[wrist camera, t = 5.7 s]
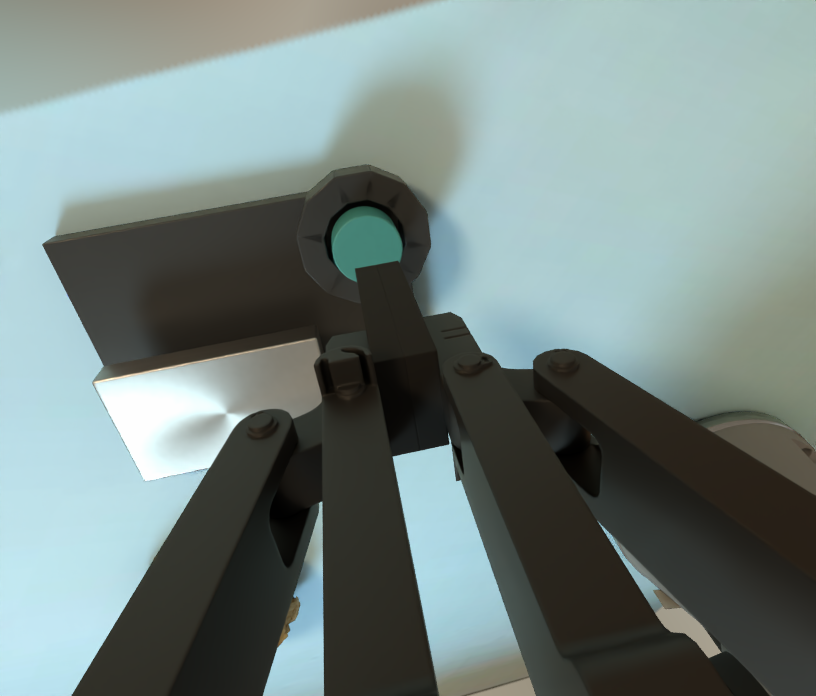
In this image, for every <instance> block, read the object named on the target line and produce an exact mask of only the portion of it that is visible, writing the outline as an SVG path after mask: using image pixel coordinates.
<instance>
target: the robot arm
mask: <svg viewBox="0 0 816 696" xmlns="http://www.w3.org/2000/svg"><path fill="white" fill-rule="evenodd" d="M355 273H356V279H357V284H358V290H359V295H360V301H361V306H362V312H363V317H364V323H365V328H366V330H362V331H357V332H352V333H347V334H342V335H337V336H332V338H331V339H330V340H329V342H328V343H327V345H326V352H325V353H323V354H322V355H321V356H319V357H318V358H317V359H316V361H315V363H314V369H315V373H316V377H317V381H318V384H319V388H320V392H321V396H322V402H321V403H320V404H319V405H318V406H317V407H316V408H314V409H313V410H311V411H309V412H307V413H305V414H303V415H301V416H299V417H296V418H294V419H292V417H291V415H290V414H289V412H287V411H284V410H282V409H267V410H261V411H257V412H256V413H252V414H250V415H249V416H247V417H246V418H244V419H243V420H241V421H240V422H239V423H238V424H237V425H236V426H235V427H234V428H233V430H232V432H231V433H230V435H229V437H228V438H227V440H226V442H225V443H224V445H223V447H222V448H221V450H220V452H219V453H218V455H217V456H216V458H215V460H214V461H213V463H212V465H211V466H210V468H209V470H208V471H207V473H206V475H205V476H204V478H203V480H202V481H201V483H200V485H199V486H198V488H197V489H196V491H195V493H194V494H193V496H192V498H191V499H190V501H189V503H188V504H187V506H186V508H185V509H184V511H183V513H182V514H181V516H180V518H179V519H178V521H177V522H176V524H175V526H174V527H173V529H172V531H171V532H170V534H169V536H168V537H167V539H166V541H165V542H164V544H163V546H162V547H161V549H160V551H159V552H158V554H157V555H156V557H155V559H154V560H153V562H152V564H151V565H150V567H149V569H148V570H147V572H146V574H145V575H144V577H143V579H142V580H141V582H140V584H139V585H138V587H137V588H136V590H135V592H134V593H133V595H132V597H131V598H130V600H129V602H128V603H127V605H126V607H125V608H124V610H123V612H122V613H121V615H120V617H119V618H118V620H117V621H116V623H115V625H114V626H113V628H112V630H111V631H110V633H109V635H108V636H107V638H106V640H105V641H104V643H103V645H102V646H101V648H100V649H99V651H98V653H97V654H96V656H95V658H94V659H93V661H92V663H91V664H90V666H89V668H88V669H87V671H86V673H85V674H84V676H83V678H82V679H81V681H80V682H79V684H78V686H77V687H76V689H75V691H74V692H73V694H72V696H263V692H264V689H265V686H266V683H267V679H268V676H269V673H270V670H271V666H272V663H273V660H274V656H275V653H276V650H277V647H278V643H279V640H280V637H281V634H282V630H283V627H284V624H285V621H286V617H287V614H288V611H289V607H290V604H291V601H292V598H293V594H294V591H295V588H296V585H297V581H298V578H299V575H300V572H301V568H302V565H303V562H304V558H305V555H306V552H307V549H308V545H309V542H310V539H311V536H312V532H313V529H314V526H315V523H316V519H317V516H318V513H319V503H320V502H322V501H323V618H324V696H439V692H438V687H437V682H436V677H435V671H434V666H433V661H432V656H431V651H430V646H429V641H428V636H427V631H426V625H425V620H424V615H423V610H422V605H421V600H420V595H419V590H418V585H417V579H416V574H415V569H414V564H413V559H412V554H411V549H410V544H409V539H408V533H407V528H406V523H405V518H404V513H403V508H402V503H401V498H400V493H399V487H398V482H397V477H396V472H395V467H394V462H393V457H392V456H397V455H401V454H406V453H411V452H416V451H420V450H425V449H430V448H435V447H439V446H444V445H449V438H448V433H449V436H450V439H451V444H452V452H453V460H454V468H455V475H456V481H459V480H461V481H462V484H463V487H464V490H465V493H466V496H467V499H468V501H469V504H470V507H471V510H472V513H473V516H474V519H475V522H476V524H477V527H478V530H479V533H480V536H481V539H482V542H483V545H484V547H485V550H486V553H487V556H488V559H489V562H490V565H491V568H492V570H493V573H494V576H495V579H496V582H497V585H498V588H499V591H500V593H501V596H502V599H503V602H504V605H505V608H506V611H507V614H508V616H509V619H510V622H511V625H512V628H513V631H514V634H515V637H516V639H517V642H518V645H519V648H520V651H521V654H522V657H523V660H524V662H525V665H526V668H527V671H528V674H529V677H530V680H531V682H532V685H533V688H534V691H535V694H536V696H816V451H815V450H814V449H813V447H812V446H811V445H810V444H809V443H808V442H807V441H806V440H805V439H804V438H803V437H802V436H801V435H800V434H798V433H797V432H796V431H794V430H793V429H792V428H790V427H789V426H788V425H786V424H785V423H784V422H782V421H781V420H779V419H777V418H775V417H773V416H770V415H767V414H763V413H758V412H731V413H725V414H720V415H716V416H712V417H709V418H706V419H703V420H700V421H697V422H695V421H694V420H692V419H690V418H689V417H687V416H685V415H684V414H682V413H681V412H679V411H677V410H676V409H674V408H672V407H671V406H669V405H668V404H666V403H664V402H663V401H661V400H659V399H658V398H656V397H655V396H653V395H651V394H650V393H648V392H646V391H645V390H643V389H642V388H640V387H638V386H637V385H635V384H633V383H632V382H630V381H629V380H627V379H625V378H624V377H622V376H620V375H619V374H617V373H616V372H614V371H612V370H611V369H609V368H607V367H606V366H604V365H603V364H601V363H599V362H598V361H596V360H594V359H593V358H591V357H590V356H588V355H586V354H584V353H581V352H579V351H575V350H569V349H554V350H550V351H546V352H544V353H542V354H540V355H538V356H537V357H536V358H535V359H534V361H533V369H507V368H501V366H500V365H499V363H498V361H497V360H496V359H495V358H494V357H493V356H491V355H488V354H486V353H482V351H481V350H480V348H479V346H478V345H477V343H476V341H475V340H474V338H473V336H472V335H471V334H470V331H469V330H468V328H467V327H466V324H465V323H464V321H463V319H462V318H461V317H459V316H457V315H455V314H453V313H451V312H448V313H443V314H438V315H433V316H428V317H423V316H422V314H421V312H420V309H419V307H418V305H417V303H416V300H415V298H414V296H413V293H412V291H411V289H410V286H409V284H408V282H407V279H406V277H405V275H404V273H403V270H402V268H401V266H400V263H399V261H393V262H388V263H382V264H377V265H371V266H366V267H361V268H355ZM591 434H592V435H593V436H592V435H591ZM598 522H599V523H600V524H601V525H602V526H603V527H604V528H605V529H606V530H607V531H608V532H609V533H610V534H611V535H612V536H613V538H614V540H615V542H616V543H617V545H618V546H619V548H620V550H621V551H622V553H623V554H624V556H625V557H626V559H627V560H628V561H629V562H630V563H631V564H632V565H633V566H634V568H635V569H636V570H637V571H638V572H640V573H641V574H642V575H643V576H645V577H646V578H647V579H649V580H650V581H651V582H652V583H653V584H654V585H655V586H657V587H658V588H659V589H660V590H653V591H654V593H655V594H656V596H657V597H658V599H659V601H660V602H661V604H662V605H663V607H664V608H665V609H672V608H683V609H684V610H685V611H686V612H688V613H689V614H690V615H691V616H692V617H694V618H695V619H696V620H697V621H698V622H700V623H701V625H702V626H703V627H704V628H705V630H706V631H707V632H708V634H709V635H710V637H711V638H712V639H713V641H714V642H715V644H716V645H717V646H718V648H719V649H720V651H721V652H722V653H720V654H717V655H715V656H713V657H711V658H708V657H707V656H706V655H705V653H704V652H703V651H702V650H701V648H699V646H698V645H697V643H696V642H695V641H693V640H692V639H691V638H689V637H688V636H687V635H686V634H683V633H673V632H670V631H669V630H668V629H666V628H665V627H664V626H663V624H662V623H661V622H660V620H659V619H658V617H657V616H656V614H655V613H654V611H653V609H652V608H651V606H650V605H649V603H648V601H647V600H646V598H645V597H644V595H643V593H642V592H641V590H640V589H639V587H638V585H637V584H636V582H635V581H634V579H633V577H632V576H631V574H630V573H629V571H628V569H627V568H626V566H625V565H624V563H623V561H622V560H621V558H620V557H619V555H618V553H617V552H616V550H615V549H614V547H613V545H612V544H611V542H610V541H609V539H608V537H607V536H606V534H605V533H604V531H603V529H602V528H601V526H600V525H599V523H598Z"/></svg>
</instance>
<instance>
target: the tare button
mask: <svg viewBox="0 0 816 696" xmlns="http://www.w3.org/2000/svg"><path fill="white" fill-rule="evenodd" d="M331 242H332V253H333V258H334V261H335V264H336V266H337V267H338V269H339V270H340V271H341V273H343V274H344V275H345V276H346V277H347V278H349V279H351V280H353V281H356V282H357V279H356V273H355V268H361V267H366V266H371V265H377V264H382V263H388V262H393V261H399V263H400V261H401V258H402V252H403V246H402V240H401V237H400V235H399V233H398V231H397V229H396V227H395V225H394V223H393V221H392V220H391V218H390V217H389V216H388V215H387V214H386V213H384V212H383V211H381V210H379V209H377V208H374V207H369V206H360V207H355V208H352V209H350V210H348V211H346V212H345V213H344V214H342V215H341V216H340V217H339V219H338V220H337V221H336V223H335V225H334V227H333V231H332V236H331Z"/></svg>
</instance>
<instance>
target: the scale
mask: <svg viewBox="0 0 816 696" xmlns="http://www.w3.org/2000/svg"><path fill="white" fill-rule="evenodd" d="M360 206H369V207H374V208H377V209H379V210H381V211H383V212H384V213H386V214H387V215H388V216H389V217H390V218H391V220H392V221H393V223H394V225H395V227H396V229H397V231H398V233H399V235H400V237H401V240H402V246H403V252H402V258H401V261H400V266H401V268H402V270H403V273H404V275H405V277H406V279H407V282H408V284H409V286H410V289H411V291H412V293H413V288H412V282H413V281H414V280H415V279H416V278H417V277H418V276H419V274H420V272H421V269H422V267H423V264H424V262H425V260H426V257H427V255H428V253H429V250H430V248H431V240H430V231H429V223H428V215H427V212H426V210H425V208H424V207H423V206H422V205H421V203H420V202H419V201H418V199H417V198H416V197H415V195H414V194H413V193H412V192H411V190H410V189H409V188H408V186H407V185H406V184H405V183H404V181H403V180H402V179H401V178H400V177H399V176H396V175H394V174H391V173H389V172H386V171H384V170H381V169H379V168H376V167H374V166H371V165H361V166H355V167H349V168H343V169H338V170H334V171H332V172H330V173H329V174H328V175H327V176H326V177H325V178H324V179H323V180H321V181H320V182H319V183H318V184H317V185H316V186H315V187H313V188H312V189H311V190H310V191H309V192H303V193H298V194H292V195H286V196H281V197H275V198H270V199H264V200H258V201H253V202H247V203H241V204H236V205H230V206H224V207H219V208H213V209H207V210H202V211H196V212H190V213H185V214H179V215H174V216H168V217H162V218H157V219H151V220H145V221H140V222H134V223H128V224H123V225H117V226H111V227H106V228H100V229H94V230H89V231H83V232H77V233H72V234H66V235H61V236H55V237H53V238H51V239H50V240H48V241H46V242H45V243H43V244H42V245H43V247H44V249H45V251H46V253H47V255H48V257H49V259H50V261H51V263H52V265H53V267H54V269H55V271H56V273H57V275H58V277H59V279H60V281H61V283H62V284H63V286H64V288H65V290H66V292H67V294H68V296H69V298H70V300H71V302H72V304H73V306H74V308H75V310H76V312H77V314H78V316H79V318H80V320H81V322H82V324H83V326H84V328H85V330H86V332H87V333H88V335H89V337H90V339H91V341H92V343H93V345H94V347H95V349H96V351H97V353H98V355H99V357H100V359H101V361H102V363H103V365H104V366H107V365H112V364H117V363H122V362H127V361H132V360H137V359H143V358H148V357H153V356H158V355H163V354H168V353H173V352H178V351H184V350H189V349H194V348H199V347H204V346H209V345H214V344H219V343H224V342H230V341H235V340H240V339H245V338H250V337H255V336H260V335H265V334H271V333H276V332H281V331H286V330H291V329H296V328H301V327H306V326H311V325H316V326H317V328H318V332H319V335H320V339H321V343H322V347H323V351H324V353H325V352H326V345H327V343H328V342H329V340H330V339H331V338H332V336H337V335H342V334H347V333H352V332H357V331H362V330H366V328H365V323H364V317H363V312H362V306H361V301H360V295H359V290H358V284H357V282H356V281H353V280H351V279H349V278H347V277H346V276H345V275H344V274H343V273H341V271H340V270H339V269H338V267H337V266H336V264H335V261H334V258H333V253H332V242H331V236H332V231H333V227H334V225H335V223H336V221H337V220H338V219H339V217H340V216H341V215H342V214H344V213H345V212H346V211H348V210H350V209H352V208H355V207H360ZM413 296H414V295H413Z"/></svg>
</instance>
